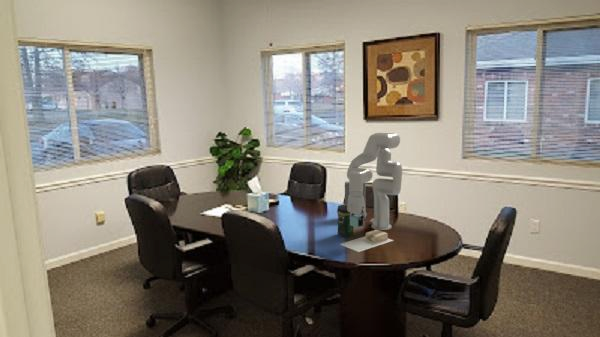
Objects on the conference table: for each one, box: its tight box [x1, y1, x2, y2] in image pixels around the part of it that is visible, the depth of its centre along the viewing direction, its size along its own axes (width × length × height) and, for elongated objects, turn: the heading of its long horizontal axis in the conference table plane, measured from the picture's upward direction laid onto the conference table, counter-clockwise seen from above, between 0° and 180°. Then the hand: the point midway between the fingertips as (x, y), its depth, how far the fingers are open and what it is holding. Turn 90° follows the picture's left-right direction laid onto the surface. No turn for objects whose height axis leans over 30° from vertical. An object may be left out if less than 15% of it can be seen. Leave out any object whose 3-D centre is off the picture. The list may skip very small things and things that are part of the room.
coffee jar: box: [336, 204, 354, 238], centre depth 273 cm, size 10×8×19 cm
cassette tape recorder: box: [344, 181, 367, 220], centre depth 307 cm, size 14×6×25 cm, turn 80°
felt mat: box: [339, 235, 395, 253], centre depth 260 cm, size 16×28×1 cm, turn 127°
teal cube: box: [350, 214, 365, 228], centre depth 254 cm, size 6×6×6 cm
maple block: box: [365, 229, 389, 243], centre depth 264 cm, size 9×9×4 cm
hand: (356, 224), depth 254 cm, fingers closed on teal cube, 5 cm apart
